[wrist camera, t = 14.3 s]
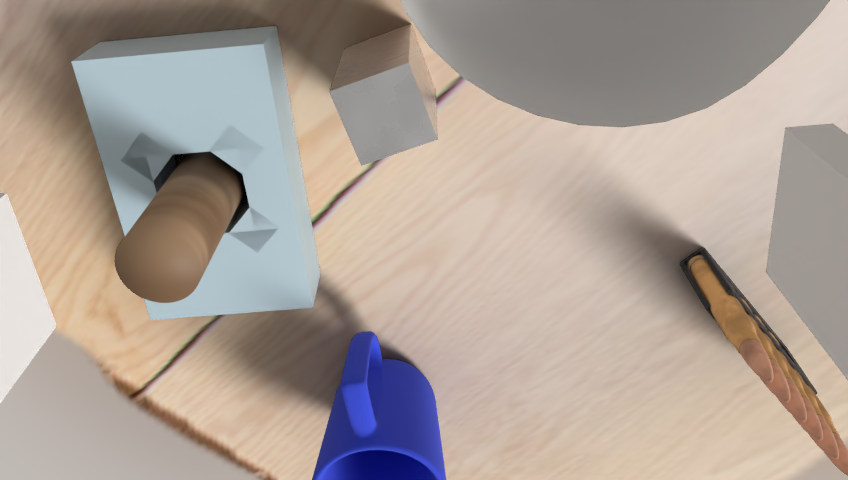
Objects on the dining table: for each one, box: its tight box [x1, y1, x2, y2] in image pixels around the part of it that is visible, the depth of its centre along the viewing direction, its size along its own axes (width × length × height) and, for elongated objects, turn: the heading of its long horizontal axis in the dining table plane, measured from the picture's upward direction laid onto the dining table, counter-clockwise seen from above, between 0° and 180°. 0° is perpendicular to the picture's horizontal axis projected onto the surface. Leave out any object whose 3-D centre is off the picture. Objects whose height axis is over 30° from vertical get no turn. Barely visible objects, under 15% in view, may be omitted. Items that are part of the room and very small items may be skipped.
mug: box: [312, 332, 446, 480], centre depth 50 cm, size 8×12×10 cm
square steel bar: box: [329, 24, 438, 166], centre depth 41 cm, size 4×4×8 cm
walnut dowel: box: [115, 151, 246, 303], centre depth 42 cm, size 4×4×12 cm
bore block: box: [71, 26, 321, 320], centre depth 45 cm, size 16×10×4 cm, turn 5°
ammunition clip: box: [680, 248, 848, 475], centre depth 47 cm, size 11×2×12 cm, turn 42°
